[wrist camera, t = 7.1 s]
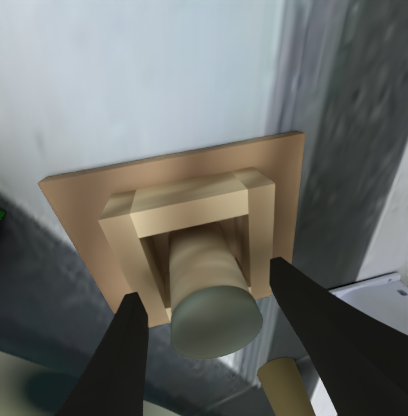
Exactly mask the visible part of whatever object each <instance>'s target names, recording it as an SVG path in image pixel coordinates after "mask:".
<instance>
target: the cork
mask: <svg viewBox="0 0 408 416" xmlns="http://www.w3.org/2000/svg"><path fill="white" fill-rule="evenodd" d="M257 376H258V378H259V380H260V382H261V385H262V387H263V389H264V391H265V393H266V395H267V398H268V400H269V402H270V404H271V406H272V408H273V410H274V413H275V415H276V416H316V415H315V413H314V410H313V407H312V405H311V402H310V400H309V397H308V394H307V392H306V389H305V387H304V384H303V381H302V379H301V376H300V374H299V371H298V368H297V366H296V363H295V361H294V359H292V358H289V357H282V358H278V359H274V360H272V361H270V362H268V363H266V364H264V365H263V366H262V367H261V368H260V369H259V370H258V372H257Z"/></svg>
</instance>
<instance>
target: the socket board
mask: <svg viewBox="0 0 408 416" xmlns="http://www.w3.org/2000/svg"><path fill="white" fill-rule="evenodd" d="M304 142H305V133H302V132H298V131H294V132H288V133H283V134H277V135H272V136H267V137H261V138H256V139H250V140H245V141H239V142H234V143H229V144H223V145H218V146H212V147H207V148H202V149H196V150H191V151H185V152H180V153H174V154H169V155H164V156H158V157H153V158H147V159H142V160H137V161H131V162H126V163H120V164H115V165H109V166H104V167H99V168H93V169H88V170H82V171H77V172H72V173H66V174H61V175H55V176H50V177H46V178H44V179H43V180H41V181H40V182H38V185H39V187H40V189H41V190H42V192H43V194H44V195H45V197H46V199H47V200H48V202H49V204H50V206H51V207H52V209H53V211H54V212H55V214H56V216H57V217H58V219H59V221H60V222H61V224H62V226H63V228H64V229H65V231H66V233H67V234H68V236H69V238H70V239H71V241H72V243H73V245H74V246H75V248H76V250H77V251H78V253H79V255H80V256H81V258H82V260H83V262H84V263H85V265H86V267H87V268H88V270H89V272H90V273H91V275H92V277H93V279H94V280H95V282H96V284H97V285H98V287H99V289H100V290H101V292H102V294H103V295H104V297H105V299H106V301H107V302H108V304H109V306H110V307H111V309H112V311H113V312H114V314H115V313H116V312H117V310H118V308H119V306H120V303H121V301H122V299H123V297H124V296H125V294H129V293H133V292H138V294H139V296H140V298H141V301H142V303H143V305H144V307H145V309H146V312H147V314H148V326H149V327H153V326H157V325H160V324H164V323H168V322H171V294H170V270H169V245H168V236H169V232H170V231H173V230H178V229H182V228H187V227H192V226H196V225H201V224H205V223H210V222H214V221H217V222H218V223H219V225H220V227H221V229H222V231H223V233H224V236H225V238H226V240H227V242H228V244H229V247H230V249H231V251H232V253H233V256H234V258H235V260H236V262H237V264H238V267H239V269H240V271H241V273H242V275H243V278H244V280H245V282H246V284H247V287H248V289H249V291H250V293H251V295H252V296H253V298H254V300H256V299H260V298H263V297H267V296H271V287H270V285H269V275H270V259H272V258H276V257H280V256H281V257H282V258H283V259H285V260H286V261H287V262H289V263H290V264H292V255H293V245H294V236H295V226H296V217H297V208H298V198H299V189H300V179H301V170H302V161H303V151H304Z"/></svg>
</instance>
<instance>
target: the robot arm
mask: <svg viewBox="0 0 408 416" xmlns="http://www.w3.org/2000/svg"><path fill="white" fill-rule="evenodd" d="M400 278H401V275H400V274H399V273H393V274H389V275H385V276H382V277H378V278H374V279H370V280H367V281H363V282H359V283H356V284H352V285H348V286H344V287H341V288H337V289H333V290H329V291H327V290H326V289H325V288H323V287H322V286H320V285H319V284H317V283H316V282H314V281H313V280H312V279H310V278H309V277H307V276H306V275H305V274H303V273H302V272H301V271H299V270H298V269H297V268H295V267H294V266H293V265H291V264H290V263H289V262H287V261H286V260H285V259H283V258H282V257H281V256H280V257H276V258H272V259H270V275H269V285H270V287H271V290H272V292H273V294H274V296H275V298H276V300H277V302H278V304H279V306H280V307H281V309H282V311H283V312H284V314H285V316H286V317H287V319H288V321H289V322H290V324H291V326H292V327H293V329H294V330H295V332H296V334H297V335H298V337H299V339H300V340H301V342H302V344H303V345H304V347H305V349H306V351H307V352H308V354H309V356H310V358H311V360H312V362H313V364H314V366H315V368H316V370H317V372H318V374H319V376H320V378H321V380H322V382H323V384H324V386H325V388H326V390H327V393H328V395H329V397H330V399H331V401H332V403H333V405H334V407H335V410H336V412H337V414H338V416H408V287H407V286H406V285H405V284H403V283H402V282H401V281H399V280H400ZM148 338H149V326H148V314H147V312H146V309H145V307H144V305H143V303H142V301H141V298H140V296H139V294H138V292H133V293H129V294H125V296H124V297H123V299H122V301H121V303H120V306H119V308H118V310H117V312H116V314H115V316H114V318H113V320H112V322H111V324H110V326H109V328H108V329H107V331H106V333H105V335H104V337H103V339H102V341H101V343H100V344H99V346H98V348H97V350H96V351H95V353H94V355H93V356H92V358H91V360H90V362H89V363H88V365H87V367H86V368H85V370H84V372H83V373H82V375H81V376H80V378H79V380H78V381H77V383H76V384H75V386H74V388H73V389H72V390H71V392H70V394H69V395H68V396H67V398H66V400H65V401H64V402H63V404H62V405H61V407H60V408H59V410H58V411H57V413H56V414H55V415H54V416H143V394H144V382H145V371H146V360H147V350H148Z"/></svg>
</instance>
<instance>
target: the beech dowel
mask: <svg viewBox="0 0 408 416" xmlns="http://www.w3.org/2000/svg"><path fill="white" fill-rule="evenodd" d="M168 245H169V270H170V294H171V343H172V346H173V348H174V349H175V351H177V352H178V353H179V354H181V355H183V356H185V357H188V358H193V359H212V358H218V357H222V356H225V355H228V354H231V353H233V352H236V351H238V350H240V349H241V348H243V347H245V346H246V345H247V344H249V343H250V342H251V341H252V340H253V339H254V338H255V337H256V336H257V335H258V333H259V332H260V330H261V328H262V324H263V318H262V315H261V313H260V311H259V308H258V306H257V304H256V302H255V300H254V298H253V296H252V295H251V293H250V291H249V289H248V287H247V284H246V282H245V280H244V278H243V275H242V273H241V271H240V269H239V267H238V264H237V262H236V260H235V258H234V256H233V253H232V251H231V249H230V247H229V244H228V242H227V240H226V238H225V236H224V233H223V231H222V229H221V227H220V225H219V223H218V222H217V221H214V222H210V223H205V224H201V225H196V226H192V227H187V228H182V229H178V230H173V231H170V232H169V236H168Z"/></svg>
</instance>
